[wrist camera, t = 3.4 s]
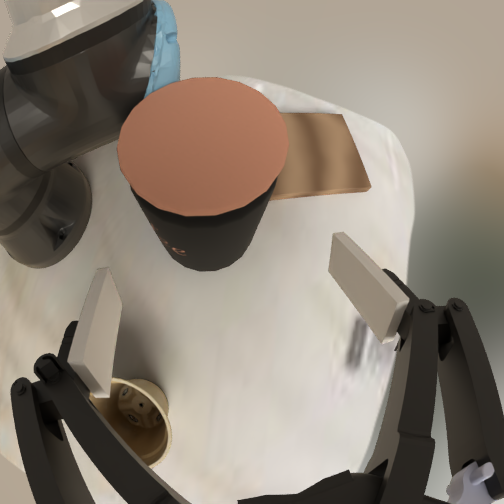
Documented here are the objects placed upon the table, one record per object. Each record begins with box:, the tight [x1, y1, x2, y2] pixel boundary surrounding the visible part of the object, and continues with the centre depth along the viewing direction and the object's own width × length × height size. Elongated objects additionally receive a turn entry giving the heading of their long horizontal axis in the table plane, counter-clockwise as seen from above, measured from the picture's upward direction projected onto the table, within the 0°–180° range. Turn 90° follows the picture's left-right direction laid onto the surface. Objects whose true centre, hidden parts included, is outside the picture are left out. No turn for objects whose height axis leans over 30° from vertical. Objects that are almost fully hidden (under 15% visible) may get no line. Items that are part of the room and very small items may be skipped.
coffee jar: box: [117, 77, 289, 271], centre depth 24 cm, size 11×11×18 cm
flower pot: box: [89, 377, 172, 468], centre depth 23 cm, size 9×9×9 cm
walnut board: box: [269, 113, 371, 201], centre depth 37 cm, size 15×13×2 cm
